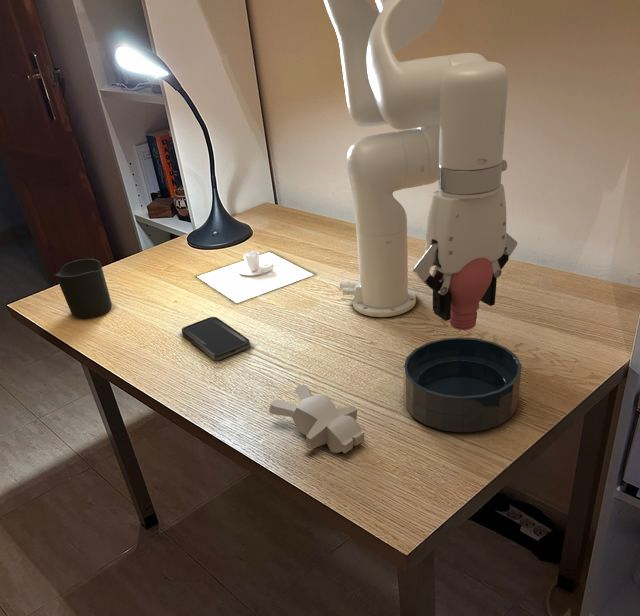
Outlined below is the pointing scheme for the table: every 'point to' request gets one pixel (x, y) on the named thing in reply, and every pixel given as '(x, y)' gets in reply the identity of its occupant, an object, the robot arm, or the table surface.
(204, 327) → the phone
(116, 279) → the table surface
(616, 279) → the table surface
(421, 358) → the dark grey round tub
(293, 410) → the bunny figurine
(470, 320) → the light bulb
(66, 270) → the dark grey spouted beaker
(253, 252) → the teacup and saucer
